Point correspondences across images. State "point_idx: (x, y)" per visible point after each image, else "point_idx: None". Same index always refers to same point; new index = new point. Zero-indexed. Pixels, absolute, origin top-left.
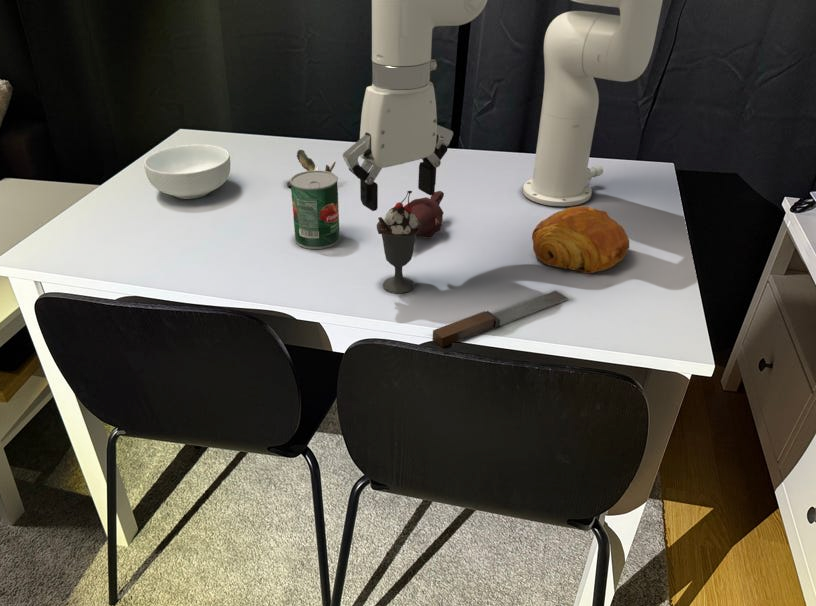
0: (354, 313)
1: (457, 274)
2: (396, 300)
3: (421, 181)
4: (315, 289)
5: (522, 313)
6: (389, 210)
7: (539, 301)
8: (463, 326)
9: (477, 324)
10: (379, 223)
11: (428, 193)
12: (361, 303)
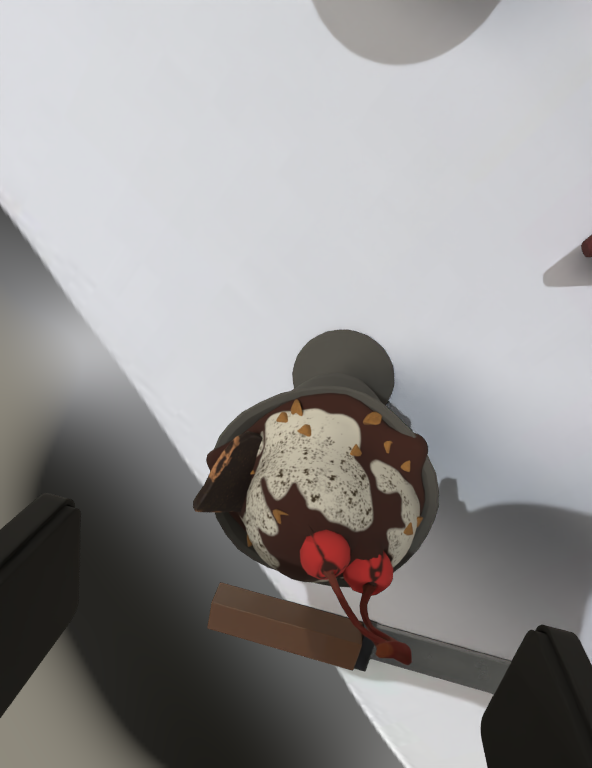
0: (149, 388)
1: (524, 465)
2: None
3: (543, 723)
4: (132, 198)
5: (443, 673)
6: (275, 505)
7: None
8: (273, 639)
9: (303, 655)
10: (266, 409)
11: (487, 720)
12: (194, 366)
